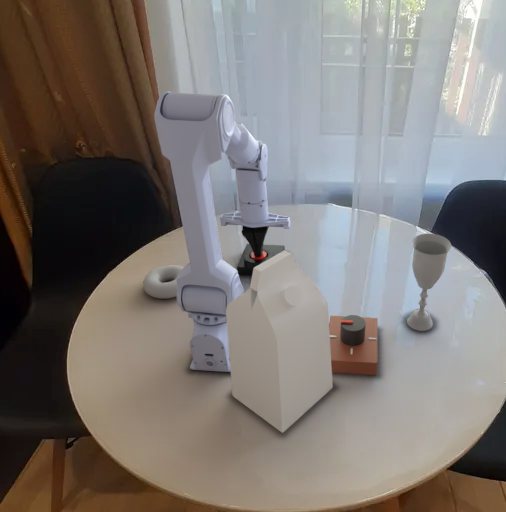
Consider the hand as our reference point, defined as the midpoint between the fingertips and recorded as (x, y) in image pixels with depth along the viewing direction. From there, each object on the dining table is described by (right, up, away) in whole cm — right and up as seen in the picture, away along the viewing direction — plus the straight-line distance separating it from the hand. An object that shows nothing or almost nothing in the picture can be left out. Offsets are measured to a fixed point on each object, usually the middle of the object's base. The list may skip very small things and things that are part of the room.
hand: (258, 254), depth 108 cm
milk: (+8, -25, -27) cm, 37 cm away
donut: (-19, -8, -3) cm, 20 cm away
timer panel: (+20, -19, -18) cm, 33 cm away
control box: (0, -2, +4) cm, 5 cm away
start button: (0, -1, +1) cm, 2 cm away
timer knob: (+20, -16, -20) cm, 33 cm away
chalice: (+34, -14, -12) cm, 39 cm away
